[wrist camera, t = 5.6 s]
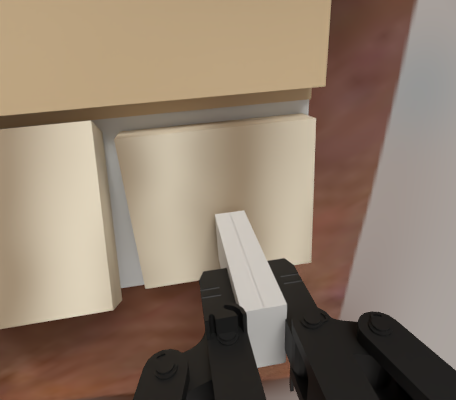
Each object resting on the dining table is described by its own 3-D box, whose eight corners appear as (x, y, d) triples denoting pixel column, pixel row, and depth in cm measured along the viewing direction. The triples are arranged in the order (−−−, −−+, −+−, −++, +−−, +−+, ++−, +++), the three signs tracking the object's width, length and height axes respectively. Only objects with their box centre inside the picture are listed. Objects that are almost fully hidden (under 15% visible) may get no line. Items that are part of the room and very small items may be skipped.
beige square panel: (147, 269, 19) (145, 289, 17) (119, 131, 16) (114, 139, 14) (299, 246, 20) (311, 262, 18) (301, 113, 17) (315, 118, 15)
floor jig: (-24, 302, 20) (-49, 337, 17) (-213, -48, 12) (-303, -69, 10) (296, 252, 22) (312, 277, 20) (309, -64, 14) (337, -84, 12)
